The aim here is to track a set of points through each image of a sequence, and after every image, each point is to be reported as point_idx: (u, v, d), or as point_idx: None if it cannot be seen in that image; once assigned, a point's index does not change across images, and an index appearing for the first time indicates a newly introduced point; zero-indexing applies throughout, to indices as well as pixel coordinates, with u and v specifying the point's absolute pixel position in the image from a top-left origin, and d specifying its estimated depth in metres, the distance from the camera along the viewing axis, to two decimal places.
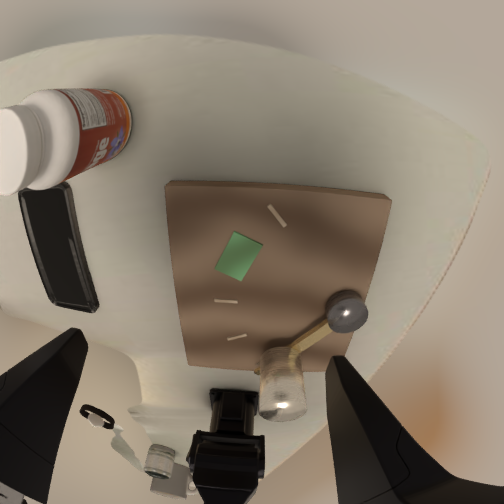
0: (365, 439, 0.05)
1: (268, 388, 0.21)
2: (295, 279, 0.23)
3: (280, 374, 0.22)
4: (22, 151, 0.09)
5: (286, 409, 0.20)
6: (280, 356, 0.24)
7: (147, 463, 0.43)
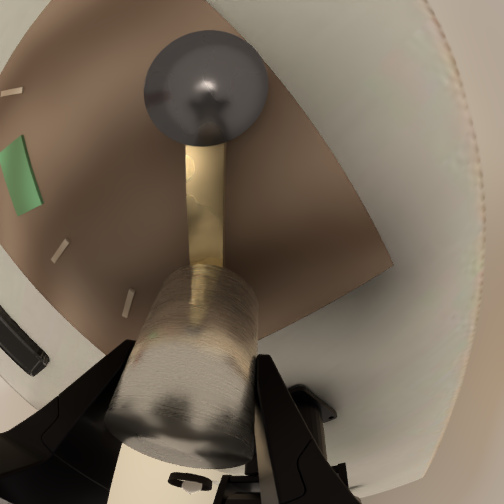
0: (266, 445, 0.05)
1: None
2: (86, 131, 0.09)
3: (138, 338, 0.07)
4: None
5: (167, 440, 0.05)
6: (159, 295, 0.09)
7: None
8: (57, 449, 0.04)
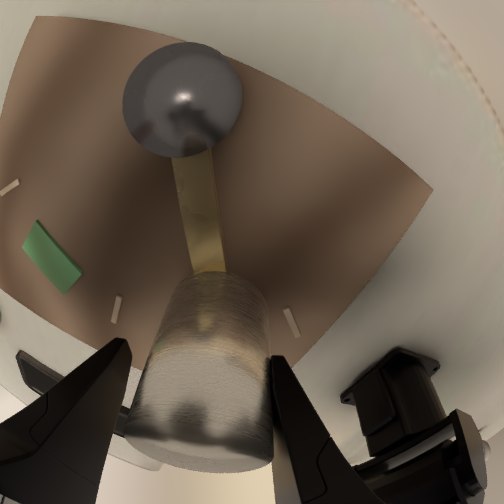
0: (285, 446, 0.05)
1: None
2: (93, 189, 0.10)
3: (150, 351, 0.08)
4: None
5: (186, 447, 0.05)
6: (167, 307, 0.09)
7: None
8: (44, 442, 0.04)
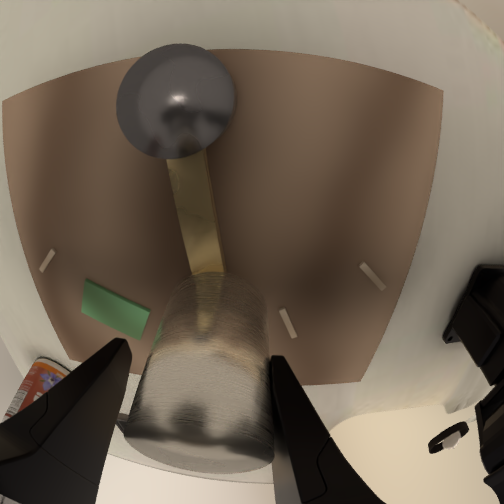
0: (285, 445, 0.05)
1: None
2: (129, 225, 0.11)
3: (149, 353, 0.08)
4: None
5: (187, 447, 0.05)
6: (166, 309, 0.09)
7: None
8: (44, 442, 0.04)
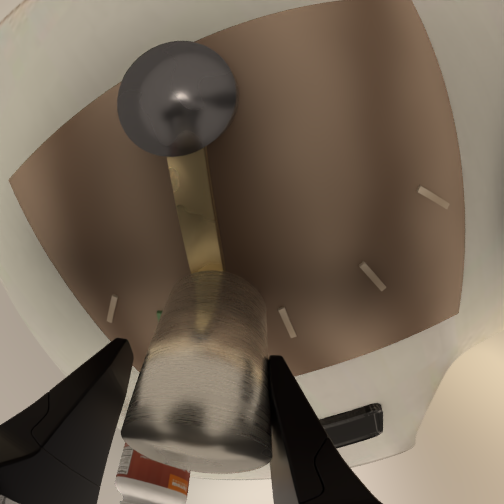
0: (283, 446, 0.05)
1: None
2: (181, 238, 0.11)
3: (147, 351, 0.08)
4: None
5: (184, 447, 0.05)
6: (164, 307, 0.09)
7: None
8: (46, 443, 0.04)
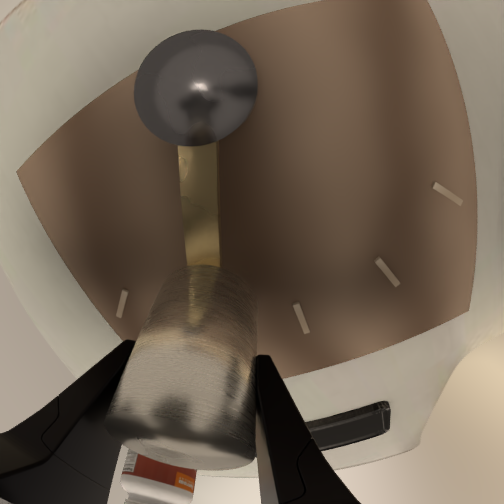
0: (266, 445, 0.05)
1: None
2: None
3: (137, 341, 0.07)
4: None
5: (168, 442, 0.05)
6: (157, 297, 0.09)
7: None
8: (57, 449, 0.04)
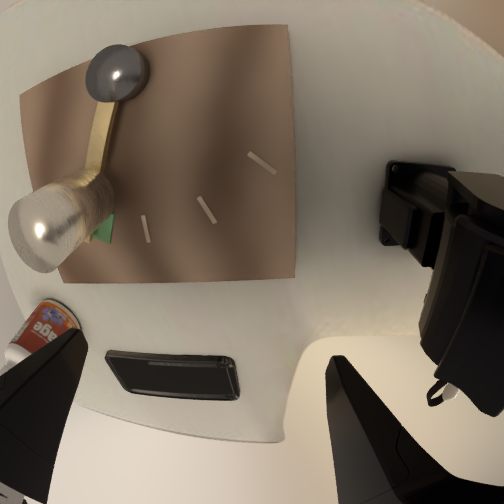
0: (365, 439, 0.05)
1: None
2: None
3: None
4: None
5: (30, 227, 0.10)
6: None
7: None
8: None
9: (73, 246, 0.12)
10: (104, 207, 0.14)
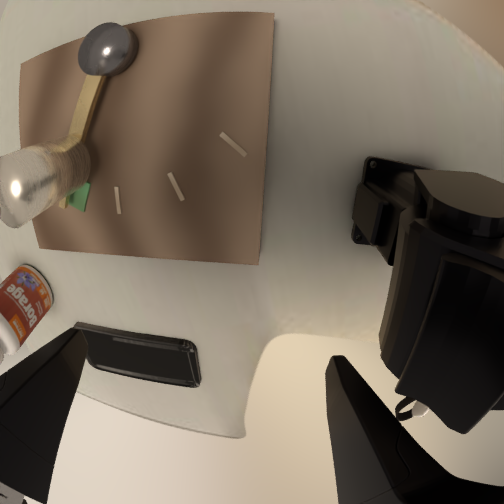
0: (365, 439, 0.05)
1: None
2: None
3: None
4: None
5: (6, 183, 0.09)
6: None
7: None
8: None
9: (42, 205, 0.11)
10: (78, 173, 0.14)
